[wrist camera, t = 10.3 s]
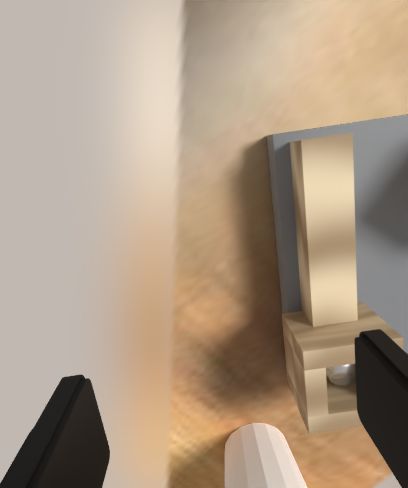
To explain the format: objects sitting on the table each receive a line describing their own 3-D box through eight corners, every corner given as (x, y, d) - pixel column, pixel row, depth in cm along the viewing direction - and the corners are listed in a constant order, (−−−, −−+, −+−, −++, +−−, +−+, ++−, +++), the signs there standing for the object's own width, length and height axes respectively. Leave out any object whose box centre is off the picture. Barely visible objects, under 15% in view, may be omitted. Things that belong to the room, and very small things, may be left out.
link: (266, 145, 22) (287, 143, 17) (359, 131, 22) (405, 125, 17) (287, 383, 27) (309, 434, 22) (364, 372, 27) (402, 420, 22)
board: (266, 135, 24) (272, 134, 22) (480, 104, 24) (505, 99, 22) (287, 371, 29) (294, 386, 27) (465, 345, 29) (484, 358, 27)
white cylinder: (208, 472, 31) (213, 560, 25) (229, 410, 30) (240, 486, 23) (280, 484, 32) (304, 573, 25) (303, 424, 30) (336, 502, 24)
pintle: (300, 319, 28) (326, 359, 22) (327, 315, 28) (360, 354, 22) (302, 343, 28) (328, 387, 23) (329, 339, 28) (361, 382, 23)
